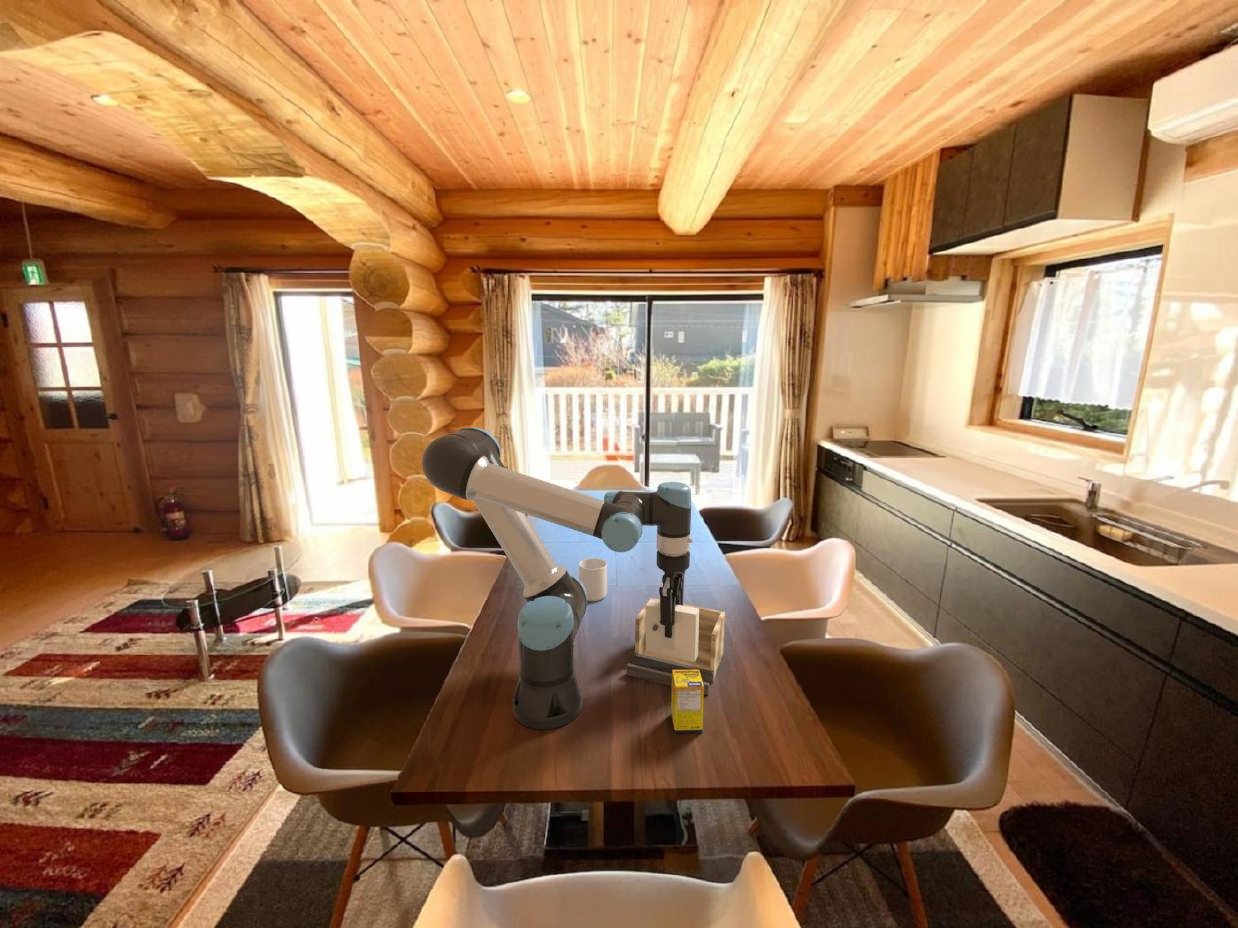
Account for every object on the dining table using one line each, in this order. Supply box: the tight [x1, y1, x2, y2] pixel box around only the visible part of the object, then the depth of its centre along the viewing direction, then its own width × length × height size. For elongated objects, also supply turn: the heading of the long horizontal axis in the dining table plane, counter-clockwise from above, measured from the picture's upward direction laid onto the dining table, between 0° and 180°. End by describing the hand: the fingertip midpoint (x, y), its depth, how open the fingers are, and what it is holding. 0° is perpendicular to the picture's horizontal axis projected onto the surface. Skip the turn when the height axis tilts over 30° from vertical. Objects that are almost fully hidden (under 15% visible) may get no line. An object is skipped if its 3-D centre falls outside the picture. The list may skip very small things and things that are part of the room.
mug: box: [578, 557, 608, 602], centre depth 166 cm, size 12×9×11 cm
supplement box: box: [670, 669, 705, 734], centre depth 108 cm, size 6×6×11 cm
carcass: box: [626, 597, 727, 696], centre depth 128 cm, size 18×20×12 cm
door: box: [645, 599, 699, 662], centre depth 121 cm, size 4×12×12 cm, turn 68°
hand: (671, 643), depth 122 cm, fingers closed on door, 3 cm apart
